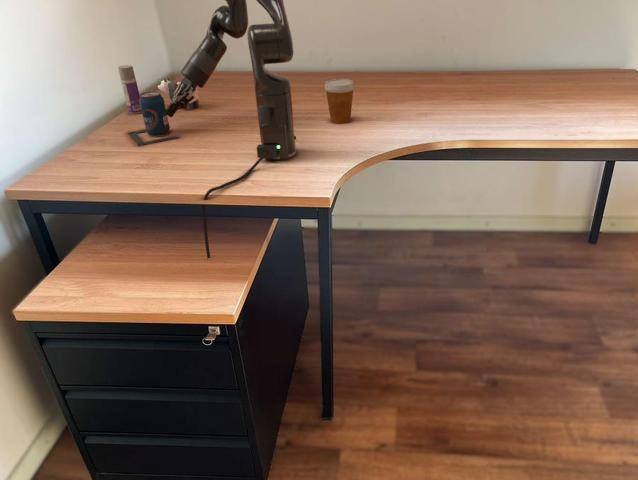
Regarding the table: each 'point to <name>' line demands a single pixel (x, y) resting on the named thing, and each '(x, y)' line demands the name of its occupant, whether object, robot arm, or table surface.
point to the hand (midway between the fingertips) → (168, 115)
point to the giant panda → (168, 88)
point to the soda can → (154, 114)
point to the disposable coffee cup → (339, 99)
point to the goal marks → (140, 141)
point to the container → (130, 88)
